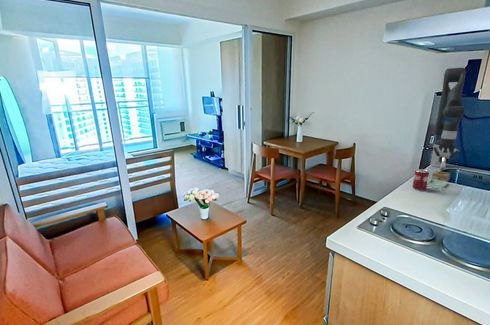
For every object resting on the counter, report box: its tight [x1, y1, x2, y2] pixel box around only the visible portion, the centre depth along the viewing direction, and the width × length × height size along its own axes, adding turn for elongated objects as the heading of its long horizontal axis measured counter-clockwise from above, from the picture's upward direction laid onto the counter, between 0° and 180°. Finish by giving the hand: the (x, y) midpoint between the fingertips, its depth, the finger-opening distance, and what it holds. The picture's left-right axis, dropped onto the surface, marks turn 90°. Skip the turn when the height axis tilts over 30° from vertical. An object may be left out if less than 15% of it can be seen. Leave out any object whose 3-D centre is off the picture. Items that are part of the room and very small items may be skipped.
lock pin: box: [439, 156, 447, 171], centre depth 170 cm, size 3×3×9 cm
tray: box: [427, 178, 449, 191], centre depth 164 cm, size 10×9×2 cm
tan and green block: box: [430, 170, 451, 183], centre depth 171 cm, size 13×9×5 cm
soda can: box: [411, 168, 430, 192], centre depth 159 cm, size 7×7×12 cm
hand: (443, 163), depth 170 cm, fingers closed on lock pin, 2 cm apart
